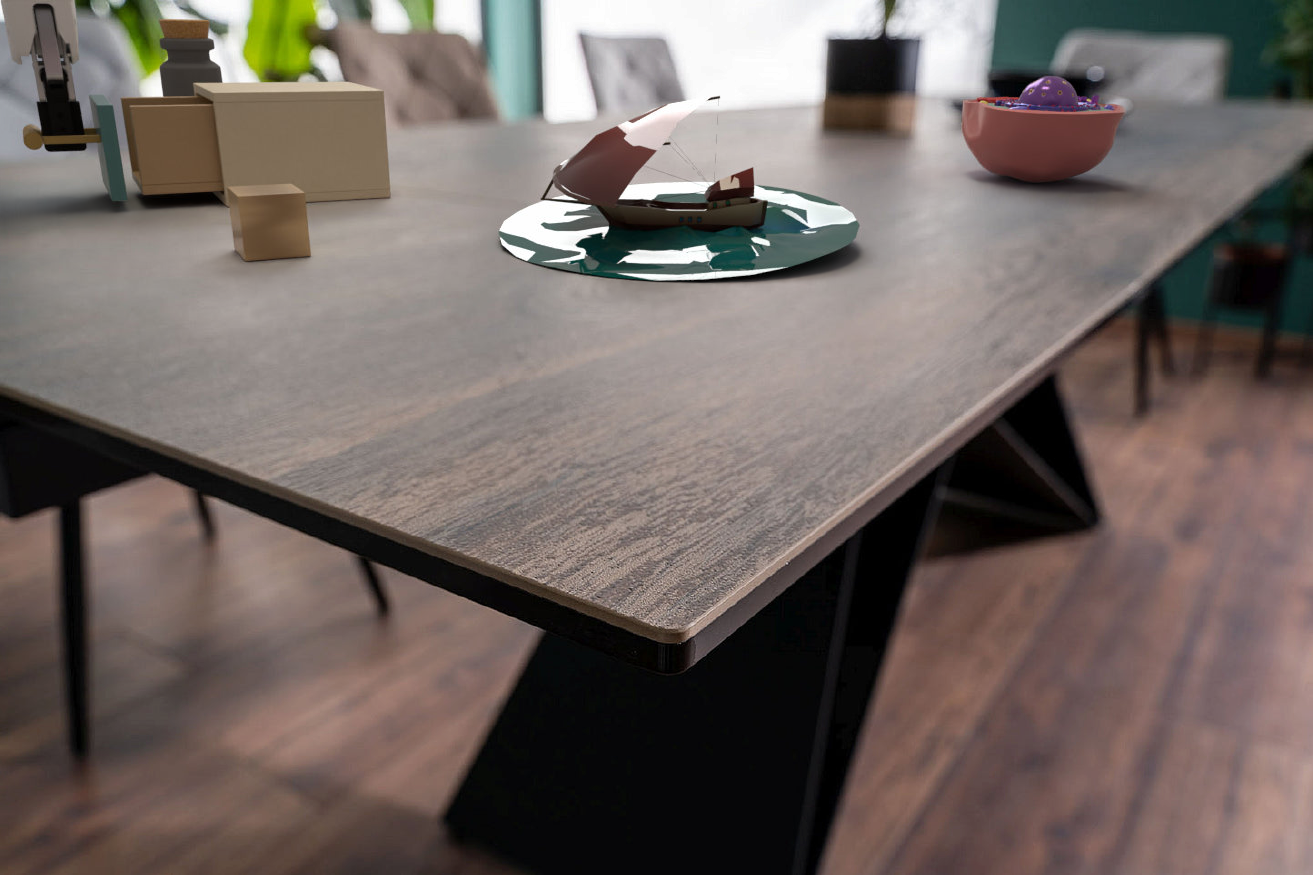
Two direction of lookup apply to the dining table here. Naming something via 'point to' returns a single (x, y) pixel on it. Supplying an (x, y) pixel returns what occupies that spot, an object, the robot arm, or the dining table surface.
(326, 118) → the cabinet
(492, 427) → the dining table surface
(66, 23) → the robot arm
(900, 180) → the dining table surface
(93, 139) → the drawer
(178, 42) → the bottle
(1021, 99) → the cell model
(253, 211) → the block
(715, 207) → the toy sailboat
